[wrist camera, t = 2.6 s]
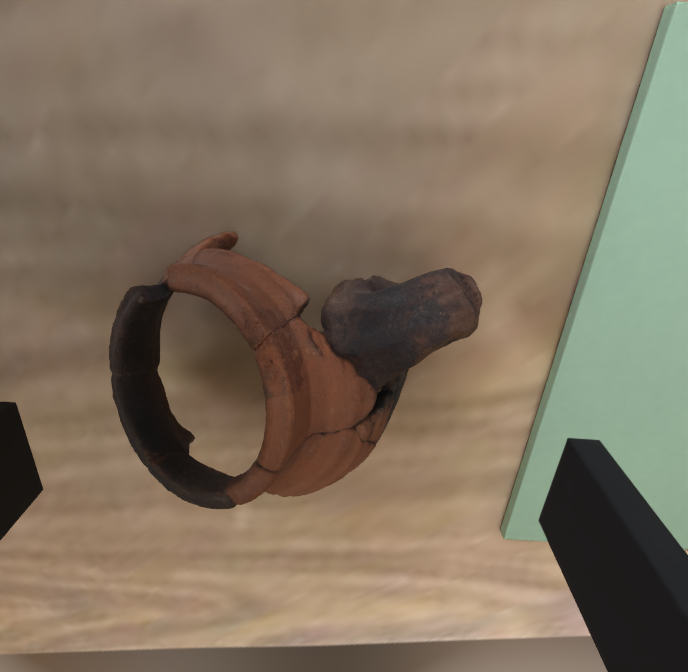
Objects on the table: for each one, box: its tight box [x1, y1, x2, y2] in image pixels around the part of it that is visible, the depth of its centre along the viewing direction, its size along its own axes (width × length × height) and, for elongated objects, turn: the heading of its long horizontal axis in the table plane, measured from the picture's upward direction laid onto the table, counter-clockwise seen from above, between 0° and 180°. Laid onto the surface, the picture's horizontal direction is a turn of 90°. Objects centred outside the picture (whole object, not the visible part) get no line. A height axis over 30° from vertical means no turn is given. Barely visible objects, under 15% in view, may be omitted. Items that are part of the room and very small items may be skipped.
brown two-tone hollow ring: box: [109, 232, 482, 509], centre depth 15 cm, size 12×10×8 cm
